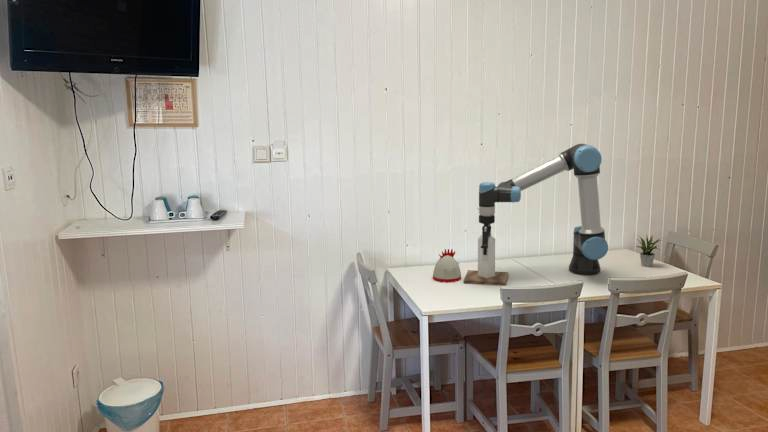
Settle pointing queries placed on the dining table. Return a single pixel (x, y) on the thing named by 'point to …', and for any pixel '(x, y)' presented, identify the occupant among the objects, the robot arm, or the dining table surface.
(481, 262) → the milk
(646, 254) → the house plant
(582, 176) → the robot arm
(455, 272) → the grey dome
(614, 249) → the dining table surface
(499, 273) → the walnut board
